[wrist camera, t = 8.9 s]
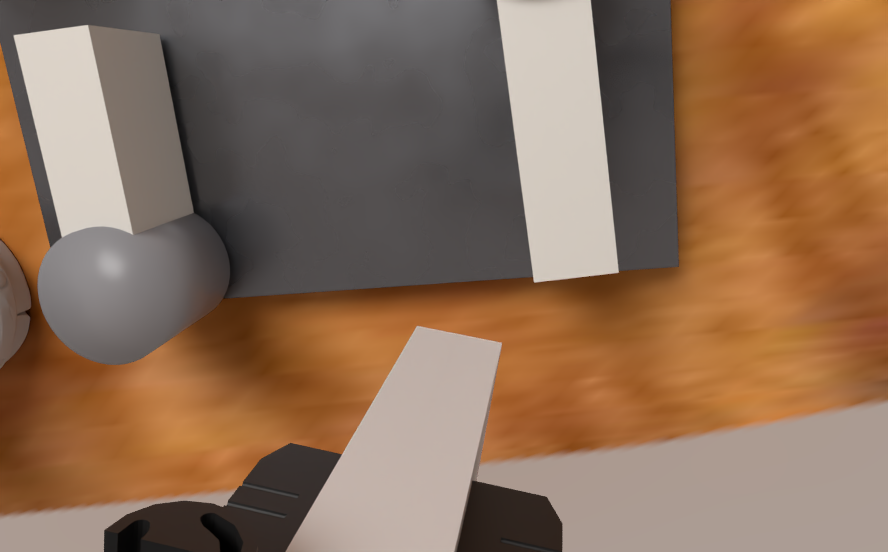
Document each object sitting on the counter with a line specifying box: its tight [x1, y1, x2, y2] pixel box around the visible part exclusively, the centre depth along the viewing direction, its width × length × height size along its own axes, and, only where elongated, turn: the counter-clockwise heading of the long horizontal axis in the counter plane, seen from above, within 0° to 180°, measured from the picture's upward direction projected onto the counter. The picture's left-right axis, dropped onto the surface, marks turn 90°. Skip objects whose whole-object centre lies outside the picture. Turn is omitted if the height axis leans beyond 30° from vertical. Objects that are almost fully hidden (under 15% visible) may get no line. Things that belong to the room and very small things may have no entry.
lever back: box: [14, 25, 230, 365], centre depth 24 cm, size 10×4×4 cm, turn 6°
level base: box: [0, 0, 679, 299], centre depth 22 cm, size 23×16×9 cm
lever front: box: [497, 0, 619, 282], centre depth 21 cm, size 12×4×4 cm, turn 9°
